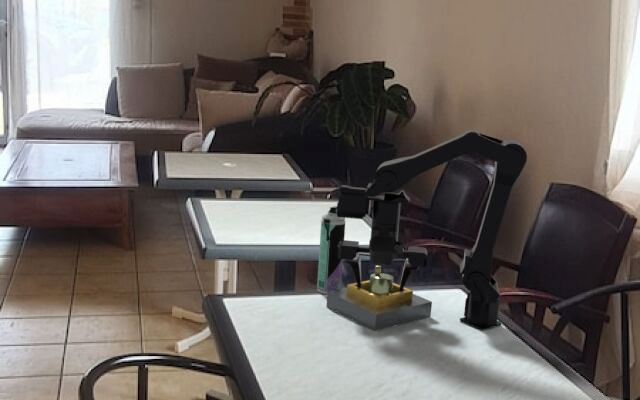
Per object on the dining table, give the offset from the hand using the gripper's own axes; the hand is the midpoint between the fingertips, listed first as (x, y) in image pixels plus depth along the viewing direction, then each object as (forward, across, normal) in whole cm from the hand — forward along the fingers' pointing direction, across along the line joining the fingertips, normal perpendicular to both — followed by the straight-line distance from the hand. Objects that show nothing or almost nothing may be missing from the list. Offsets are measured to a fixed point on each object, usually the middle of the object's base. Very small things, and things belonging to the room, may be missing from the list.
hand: (379, 291), depth 175 cm
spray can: (+5, -12, +11) cm, 17 cm away
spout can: (+5, 0, 0) cm, 5 cm away
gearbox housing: (+5, 0, 0) cm, 5 cm away
